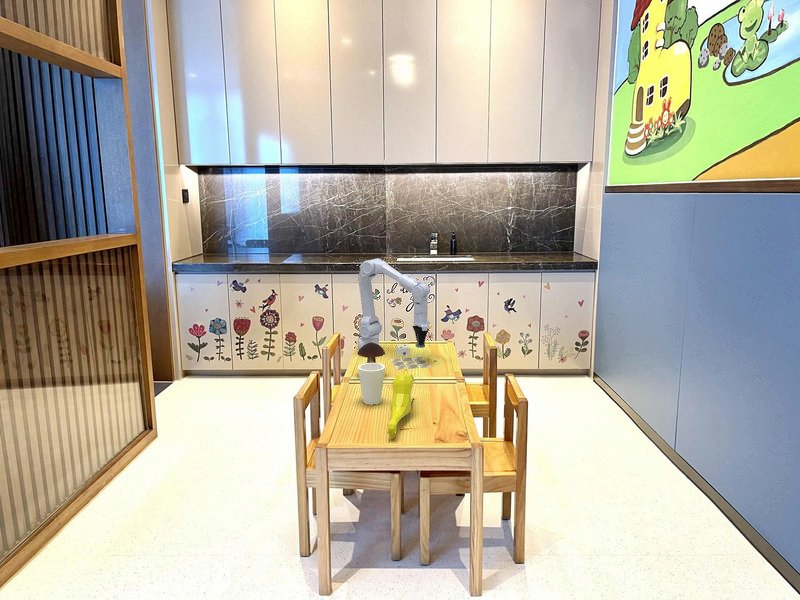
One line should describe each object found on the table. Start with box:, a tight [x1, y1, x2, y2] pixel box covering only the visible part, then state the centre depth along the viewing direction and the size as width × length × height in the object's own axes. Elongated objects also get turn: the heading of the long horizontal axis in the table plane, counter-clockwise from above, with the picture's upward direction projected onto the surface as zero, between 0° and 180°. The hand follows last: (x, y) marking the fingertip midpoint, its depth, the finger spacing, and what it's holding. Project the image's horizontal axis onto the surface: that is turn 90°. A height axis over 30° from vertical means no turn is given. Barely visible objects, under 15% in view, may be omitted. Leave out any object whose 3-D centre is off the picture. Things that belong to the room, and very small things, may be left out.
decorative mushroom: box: [356, 342, 386, 363], centre depth 225 cm, size 11×11×15 cm
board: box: [389, 356, 432, 370], centre depth 243 cm, size 15×15×1 cm
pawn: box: [415, 335, 426, 349], centre depth 242 cm, size 4×4×7 cm
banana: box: [386, 367, 416, 439], centre depth 188 cm, size 7×20×35 cm
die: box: [395, 344, 411, 357], centre depth 255 cm, size 5×5×5 cm
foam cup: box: [358, 362, 386, 406], centre depth 202 cm, size 10×9×13 cm
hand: (420, 343), depth 242 cm, fingers closed on pawn, 3 cm apart
